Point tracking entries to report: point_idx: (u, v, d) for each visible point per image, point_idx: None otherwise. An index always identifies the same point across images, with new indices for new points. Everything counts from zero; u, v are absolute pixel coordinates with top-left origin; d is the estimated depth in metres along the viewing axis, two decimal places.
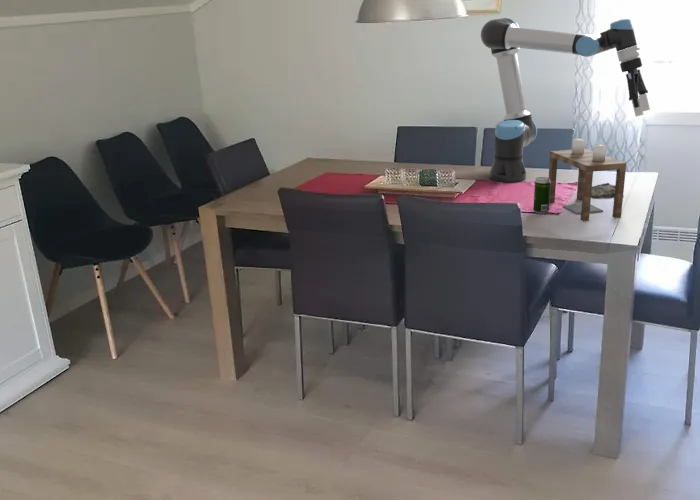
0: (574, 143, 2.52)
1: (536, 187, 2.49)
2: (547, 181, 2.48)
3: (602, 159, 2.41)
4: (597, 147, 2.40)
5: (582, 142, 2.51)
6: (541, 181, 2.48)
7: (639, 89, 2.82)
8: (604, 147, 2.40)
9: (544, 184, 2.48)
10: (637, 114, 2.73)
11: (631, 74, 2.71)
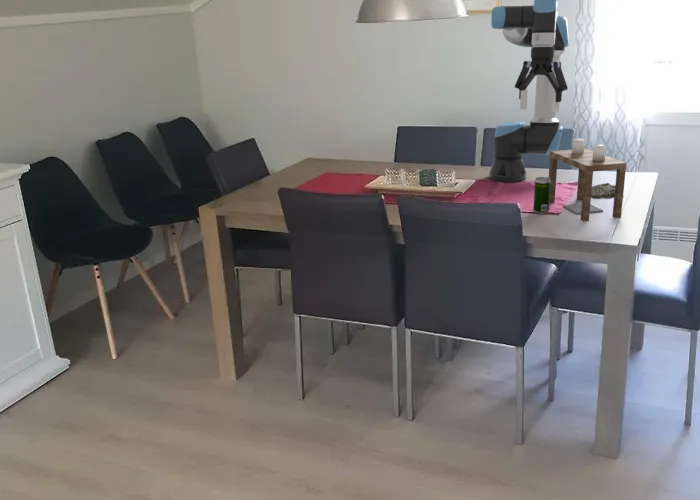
0: (574, 143, 2.52)
1: (536, 187, 2.49)
2: (547, 181, 2.48)
3: (602, 159, 2.41)
4: (597, 147, 2.40)
5: (582, 142, 2.51)
6: (541, 181, 2.48)
7: None
8: (604, 147, 2.40)
9: (544, 184, 2.48)
10: None
11: None
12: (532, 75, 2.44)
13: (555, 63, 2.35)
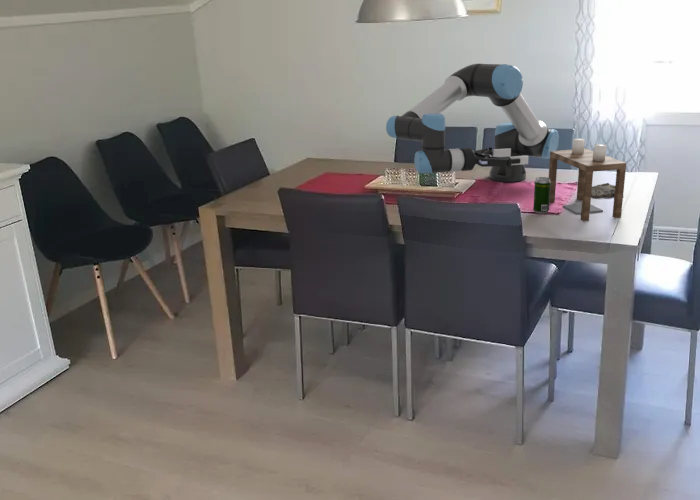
0: (574, 143, 2.52)
1: (536, 187, 2.49)
2: (547, 181, 2.48)
3: (602, 159, 2.41)
4: (597, 147, 2.40)
5: (582, 142, 2.51)
6: (541, 181, 2.48)
7: None
8: (604, 147, 2.40)
9: (544, 184, 2.48)
10: None
11: None
12: None
13: None
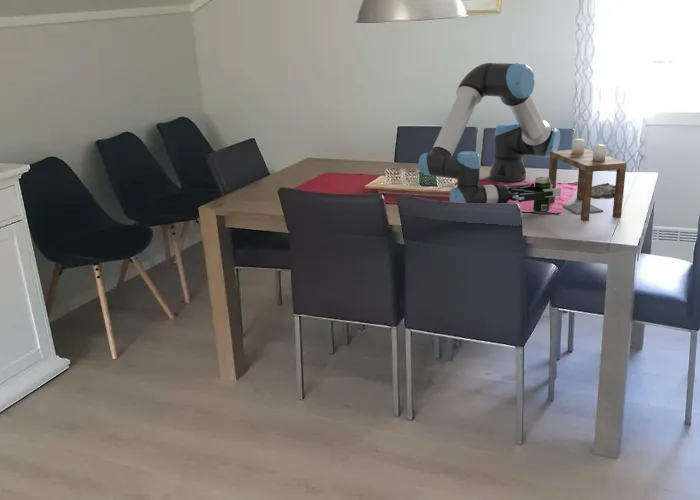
0: (574, 143, 2.52)
1: (536, 187, 2.49)
2: (547, 181, 2.48)
3: (600, 159, 2.41)
4: (596, 146, 2.41)
5: (582, 142, 2.51)
6: (541, 181, 2.48)
7: None
8: (603, 147, 2.40)
9: (544, 184, 2.48)
10: None
11: None
12: None
13: (520, 201, 2.44)
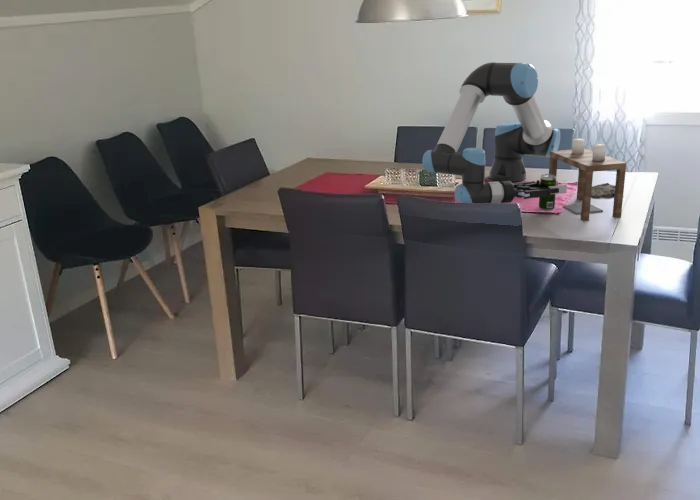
0: (574, 143, 2.52)
1: (542, 184, 2.47)
2: (553, 178, 2.46)
3: (598, 159, 2.41)
4: (593, 146, 2.41)
5: (582, 142, 2.51)
6: (547, 178, 2.46)
7: None
8: (600, 147, 2.40)
9: (550, 181, 2.46)
10: None
11: None
12: None
13: (526, 198, 2.41)
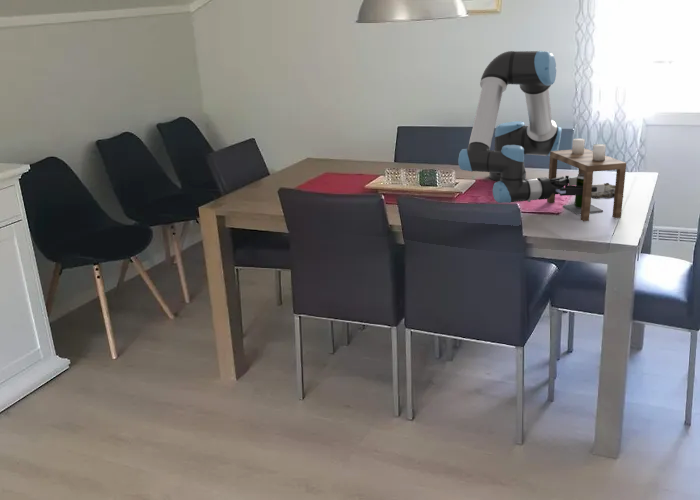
0: (574, 143, 2.52)
1: (579, 183, 2.50)
2: None
3: (596, 158, 2.42)
4: (593, 146, 2.42)
5: (582, 142, 2.51)
6: (583, 177, 2.49)
7: None
8: (598, 146, 2.40)
9: None
10: None
11: None
12: None
13: (561, 195, 2.44)
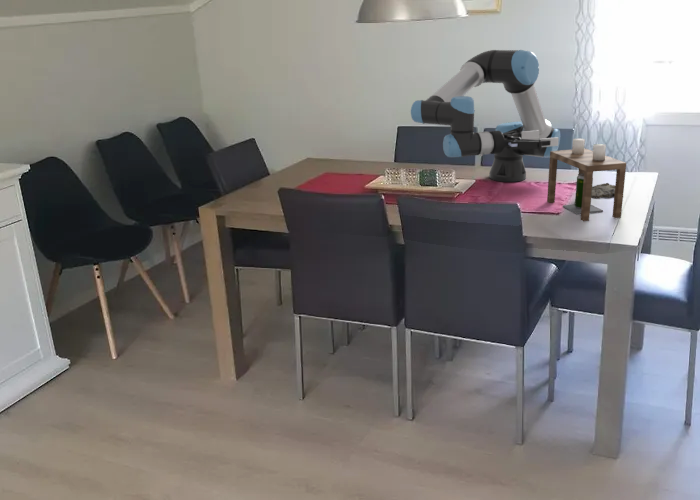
0: (574, 143, 2.52)
1: (579, 183, 2.50)
2: None
3: (594, 158, 2.42)
4: None
5: (582, 142, 2.51)
6: None
7: None
8: (596, 146, 2.41)
9: None
10: None
11: None
12: None
13: (512, 148, 2.34)
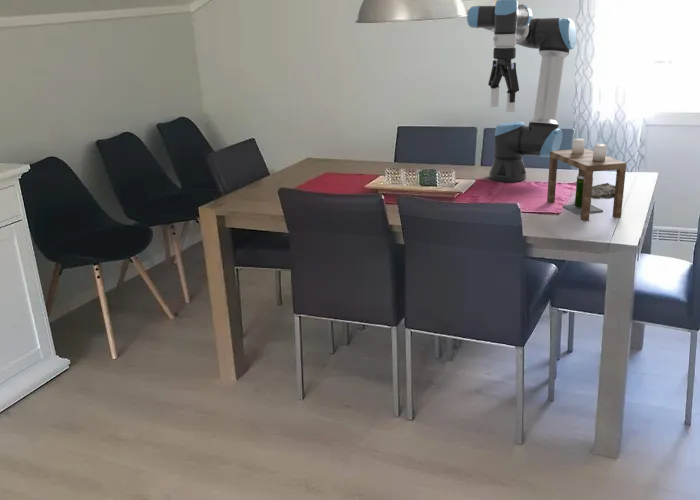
0: (574, 143, 2.52)
1: (579, 183, 2.50)
2: None
3: (593, 157, 2.43)
4: None
5: (582, 142, 2.51)
6: None
7: None
8: (595, 146, 2.41)
9: None
10: None
11: None
12: (498, 74, 2.52)
13: (508, 64, 2.42)
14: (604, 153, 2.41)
